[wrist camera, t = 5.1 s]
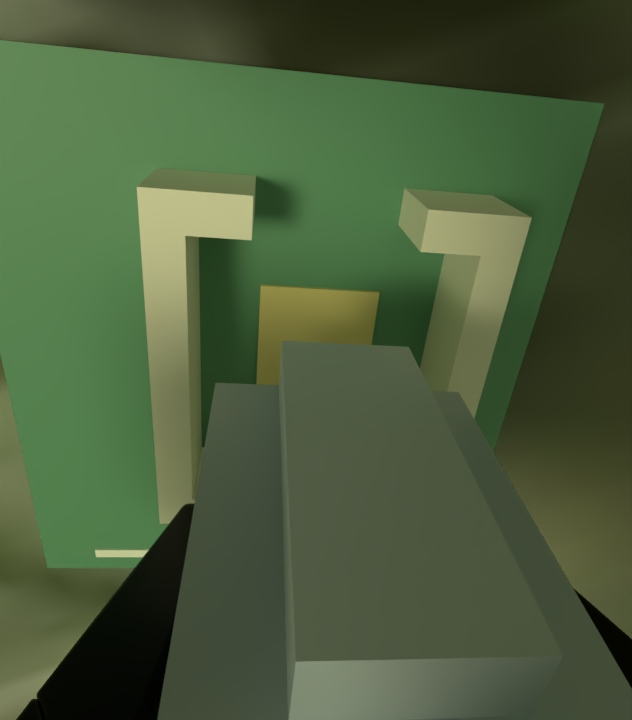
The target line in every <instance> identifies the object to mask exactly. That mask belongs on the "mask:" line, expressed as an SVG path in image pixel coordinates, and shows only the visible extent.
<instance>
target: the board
mask: <svg viewBox="0 0 632 720" xmlns="http://www.w3.org/2000/svg"><path fill="white" fill-rule="evenodd" d="M603 107H604V103H594V102H585V101H575V100H566V99H556V98H547V97H537V96H528V95H518V94H509V93H499V92H490V91H480V90H471V89H461V88H452V87H442V86H433V85H423V84H414V83H404V82H394V81H385V80H375V79H366V78H356V77H347V76H337V75H328V74H318V73H309V72H299V71H290V70H280V69H271V68H261V67H252V66H242V65H233V64H223V63H214V62H204V61H195V60H185V59H176V58H166V57H157V56H147V55H138V54H128V53H119V52H109V51H100V50H90V49H81V48H71V47H62V46H52V45H43V44H33V43H24V42H14V41H5V40H0V354H1V359H2V363H3V368H4V373H5V377H6V382H7V386H8V391H9V395H10V400H11V404H12V409H13V413H14V418H15V422H16V427H17V431H18V436H19V441H20V445H21V450H22V454H23V459H24V463H25V468H26V472H27V477H28V481H29V486H30V490H31V495H32V500H33V504H34V509H35V513H36V518H37V522H38V527H39V531H40V536H41V540H42V545H43V549H44V554H45V558H46V563H47V568H135V567H136V565H137V564H138V563H139V562H140V560H141V559H142V558H143V556H144V555H145V554H146V553H147V551H148V550H149V549H150V547H151V546H152V545H153V544H154V542H155V541H156V540H157V538H158V537H159V536H160V535H161V533H162V532H163V531H164V529H165V528H166V527H167V526H168V524H169V523H170V522H171V520H172V519H173V518H174V517H175V515H176V514H177V513H178V511H179V510H180V509H181V508H182V507H183V506H184V505H185V504H188V503H195V499H196V493H197V487H198V481H199V475H200V470H201V464H202V458H203V452H204V447H205V441H206V435H207V429H208V423H209V418H210V412H211V406H212V400H213V395H214V389H215V383H236V384H262V385H279V374H280V359H281V345H282V341H298V342H319V343H340V344H361V345H381V346H402V347H409V348H410V350H411V352H412V354H413V356H414V358H415V360H416V362H417V364H418V366H419V368H420V370H421V372H422V374H423V376H424V378H425V380H426V382H427V384H428V386H429V388H430V390H431V391H443V392H459V394H460V395H461V397H462V399H463V401H464V402H465V404H466V406H467V407H468V409H469V411H470V413H471V414H472V416H473V418H474V419H475V421H476V423H477V425H478V426H479V428H480V430H481V431H482V433H483V435H484V437H485V438H486V440H487V442H488V443H489V445H490V447H491V448H492V450H493V452H494V449H495V446H496V443H497V440H498V436H499V433H500V430H501V427H502V424H503V421H504V418H505V414H506V411H507V408H508V405H509V402H510V399H511V396H512V393H513V389H514V386H515V383H516V380H517V377H518V374H519V371H520V367H521V364H522V361H523V358H524V355H525V352H526V349H527V346H528V342H529V339H530V336H531V333H532V330H533V327H534V324H535V320H536V317H537V314H538V311H539V308H540V305H541V302H542V299H543V295H544V292H545V289H546V286H547V283H548V280H549V277H550V273H551V270H552V267H553V264H554V261H555V258H556V255H557V252H558V248H559V245H560V242H561V239H562V236H563V233H564V230H565V226H566V223H567V220H568V217H569V214H570V211H571V208H572V205H573V201H574V198H575V195H576V192H577V189H578V186H579V183H580V179H581V176H582V173H583V170H584V167H585V164H586V161H587V158H588V154H589V151H590V148H591V145H592V142H593V139H594V136H595V132H596V129H597V126H598V123H599V120H600V117H601V114H602V111H603Z"/></svg>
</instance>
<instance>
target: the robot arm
mask: <svg viewBox="0 0 632 720" xmlns="http://www.w3.org/2000/svg"><path fill="white" fill-rule="evenodd" d="M194 504H195V503H188V504H185V505H184V506H183V507H182V508H181V509H180V510H179V511H178V513H177V514H176V515H175V517H174V518H173V519H172V520H171V522H170V523H169V524H168V526H167V527H166V528H165V529H164V531H163V532H162V533H161V535H160V536H159V537H158V538H157V540H156V541H155V542H154V544H153V545H152V546H151V547H150V549H149V550H148V551H147V553H146V554H145V555H144V556H143V558H142V559H141V560H140V562H139V563H138V564H137V565H136V567H135V568H134V569H133V571H132V572H131V573H130V574H129V576H128V577H127V578H126V580H125V581H124V582H123V583H122V585H121V586H120V587H119V589H118V590H117V591H116V592H115V594H114V595H113V596H112V598H111V599H110V600H109V601H108V603H107V604H106V605H105V607H104V608H103V609H102V610H101V612H100V613H99V614H98V616H97V617H96V618H95V619H94V621H93V622H92V623H91V625H90V626H89V627H88V628H87V630H86V631H85V632H84V634H83V635H82V636H81V637H80V639H79V640H78V641H77V643H76V644H75V645H74V646H73V648H72V649H71V650H70V652H69V653H68V654H67V655H66V657H65V658H64V659H63V661H62V662H61V663H60V664H59V666H58V667H57V668H56V670H55V671H54V672H53V673H52V675H51V676H50V677H49V679H48V680H47V681H46V682H45V684H44V685H43V686H42V688H41V689H40V690H39V691H38V693H37V699H38V700H37V699H32V700H31V701H30V702H29V704H28V705H27V706H26V708H25V709H24V710H23V712H22V713H21V714H20V715H19V717H18V718H17V719H16V720H157V718H158V712H159V707H160V701H161V695H162V689H163V683H164V678H165V672H166V666H167V660H168V655H169V649H170V643H171V637H172V631H173V626H174V620H175V614H176V608H177V603H178V597H179V591H180V585H181V579H182V574H183V568H184V562H185V556H186V551H187V545H188V539H189V533H190V527H191V522H192V516H193V510H194ZM573 589H574V588H573ZM574 591H575V592H576V594H577V596H578V598H579V599H580V601H581V603H582V604H583V606H584V608H585V610H586V611H587V613H588V615H589V616H590V618H591V620H592V621H593V623H594V625H595V627H596V628H597V630H598V632H599V633H600V635H601V637H602V639H603V640H604V642H605V644H606V645H607V647H608V649H609V651H610V652H611V654H612V656H613V657H614V659H615V661H616V663H617V664H618V666H619V668H620V669H621V671H622V673H623V675H624V676H625V678H626V680H627V681H628V683H629V685H630V687H631V688H632V639H631V638H630V637H629V636H628V635H626V634H625V633H624V632H623V631H622V630H621V629H620V628H618V627H617V626H616V625H615V624H614V623H613V622H612V621H610V620H609V619H608V618H607V617H606V616H605V615H603V614H602V613H601V612H600V611H599V610H598V609H597V608H595V607H594V606H593V605H592V604H591V603H590V602H589V601H587V600H586V599H585V598H584V597H583V596H582V595H581V594H579V593H578V592H577V591H576V590H575V589H574Z"/></svg>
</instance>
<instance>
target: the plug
mask: <svg viewBox="0 0 632 720" xmlns="http://www.w3.org/2000/svg"><path fill="white" fill-rule="evenodd" d="M157 720H632V688H631V687H630V685H629V683H628V681H627V680H626V678H625V676H624V675H623V673H622V671H621V669H620V668H619V666H618V664H617V663H616V661H615V659H614V657H613V656H612V654H611V652H610V651H609V649H608V647H607V645H606V644H605V642H604V640H603V639H602V637H601V635H600V633H599V632H598V630H597V628H596V627H595V625H594V623H593V621H592V620H591V618H590V616H589V615H588V613H587V611H586V610H585V608H584V606H583V604H582V603H581V601H580V599H579V598H578V596H577V594H576V592H575V591H574V589H573V587H572V586H571V584H570V582H569V580H568V579H567V577H566V575H565V574H564V572H563V570H562V568H561V567H560V565H559V563H558V562H557V560H556V558H555V556H554V555H553V553H552V551H551V550H550V548H549V546H548V544H547V543H546V541H545V539H544V538H543V536H542V534H541V532H540V531H539V529H538V527H537V526H536V524H535V522H534V520H533V519H532V517H531V515H530V514H529V512H528V510H527V508H526V507H525V505H524V503H523V502H522V500H521V498H520V496H519V495H518V493H517V491H516V490H515V488H514V486H513V484H512V483H511V481H510V479H509V478H508V476H507V474H506V472H505V471H504V469H503V467H502V466H501V464H500V462H499V460H498V459H497V457H496V455H495V454H494V452H493V450H492V448H491V447H490V445H489V443H488V442H487V440H486V438H485V437H484V435H483V433H482V431H481V430H480V428H479V426H478V425H477V423H476V421H475V419H474V418H473V416H472V414H471V413H470V411H469V409H468V407H467V406H466V404H465V402H464V401H463V399H462V397H461V395H460V394H459V392H443V391H431V390H430V388H429V386H428V384H427V382H426V380H425V378H424V376H423V374H422V372H421V370H420V368H419V366H418V364H417V362H416V360H415V358H414V356H413V354H412V352H411V350H410V348H409V347H402V346H381V345H361V344H340V343H319V342H298V341H282V345H281V359H280V374H279V385H262V384H236V383H215V389H214V395H213V400H212V406H211V412H210V418H209V423H208V429H207V435H206V441H205V447H204V452H203V458H202V464H201V470H200V475H199V481H198V487H197V493H196V499H195V504H194V510H193V516H192V522H191V527H190V533H189V539H188V545H187V551H186V556H185V562H184V568H183V574H182V579H181V585H180V591H179V597H178V603H177V608H176V614H175V620H174V626H173V631H172V637H171V643H170V649H169V655H168V660H167V666H166V672H165V678H164V683H163V689H162V695H161V701H160V707H159V712H158V718H157Z"/></svg>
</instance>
